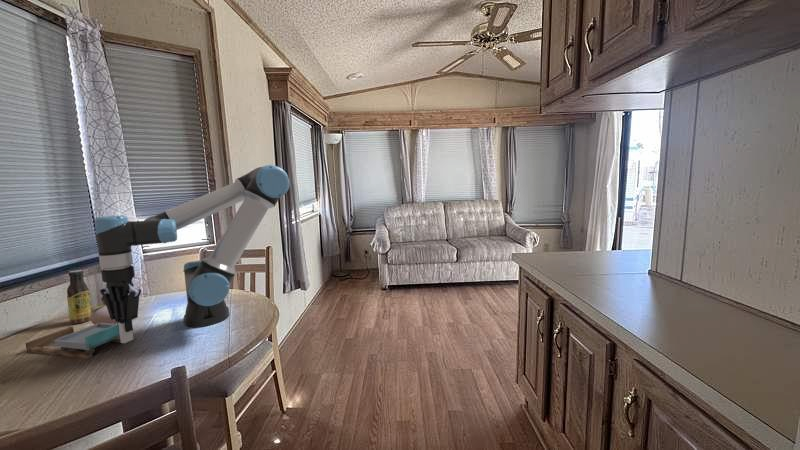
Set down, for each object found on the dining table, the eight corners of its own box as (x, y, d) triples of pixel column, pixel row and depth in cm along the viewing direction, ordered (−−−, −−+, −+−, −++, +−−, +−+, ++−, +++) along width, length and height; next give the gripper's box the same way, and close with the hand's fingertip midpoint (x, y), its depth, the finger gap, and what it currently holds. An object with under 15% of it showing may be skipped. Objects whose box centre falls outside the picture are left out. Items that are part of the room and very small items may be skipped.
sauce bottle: (78, 325, 123) (70, 273, 121) (65, 324, 125) (57, 273, 122) (97, 318, 130) (90, 269, 127) (85, 317, 131) (77, 268, 128)
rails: (126, 340, 110) (125, 331, 110) (86, 359, 98) (84, 349, 98) (71, 334, 115) (70, 326, 115) (26, 352, 104) (25, 343, 103)
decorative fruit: (106, 334, 115) (102, 306, 114) (87, 332, 116) (82, 305, 115) (132, 323, 124) (128, 297, 123) (114, 321, 126) (110, 296, 124)
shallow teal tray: (133, 336, 110) (131, 319, 109) (89, 356, 97) (86, 337, 96) (101, 333, 113) (98, 316, 112) (54, 352, 100) (51, 333, 99)
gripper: (146, 264, 101) (155, 337, 104) (113, 263, 104) (122, 333, 107) (121, 271, 94) (131, 348, 97) (86, 269, 97) (97, 345, 100)
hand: (127, 340), depth 102 cm, fingers closed
